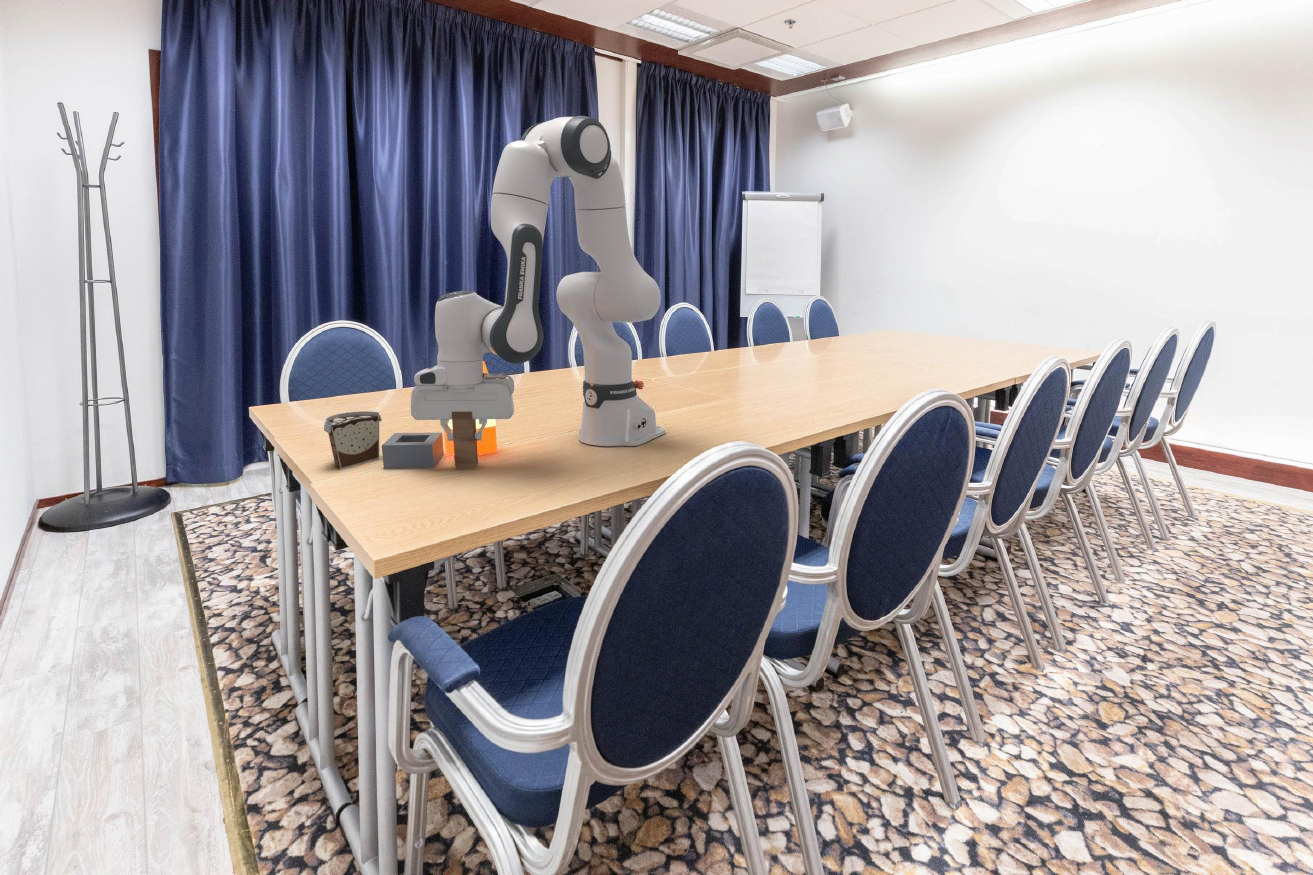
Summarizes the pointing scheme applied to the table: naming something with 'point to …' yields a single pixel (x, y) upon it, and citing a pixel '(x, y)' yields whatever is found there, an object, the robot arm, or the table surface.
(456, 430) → the peg
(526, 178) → the robot arm
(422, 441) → the socket
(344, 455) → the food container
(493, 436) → the orange juice
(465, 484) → the table surface
